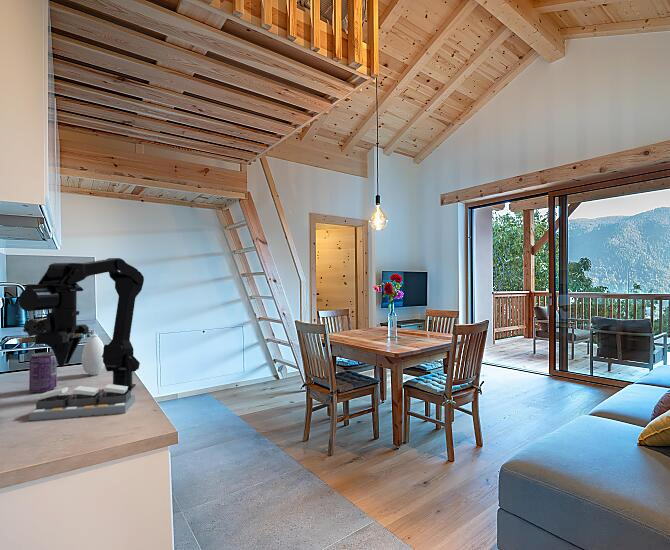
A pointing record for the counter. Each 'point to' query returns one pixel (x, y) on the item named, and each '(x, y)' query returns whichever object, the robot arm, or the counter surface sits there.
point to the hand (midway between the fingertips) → (63, 364)
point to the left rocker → (54, 392)
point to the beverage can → (42, 372)
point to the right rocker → (115, 388)
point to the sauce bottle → (93, 355)
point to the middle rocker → (86, 390)
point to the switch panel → (82, 405)
